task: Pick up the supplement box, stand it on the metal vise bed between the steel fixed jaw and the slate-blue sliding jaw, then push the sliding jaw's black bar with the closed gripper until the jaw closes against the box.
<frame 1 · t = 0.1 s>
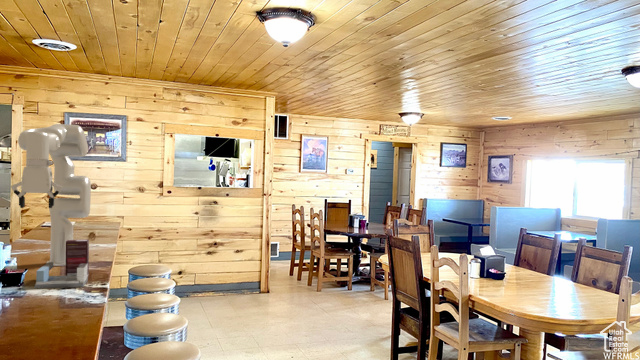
hand: (36, 207, 185), 31 cm above the bar counter, fingers open, 9 cm apart
sliding jaw: (45, 272, 193), point 4 cm above the bar counter, slide at 0.0 cm
supplement box: (76, 277, 205), on the bar counter
vise bed: (62, 284, 191), on the bar counter
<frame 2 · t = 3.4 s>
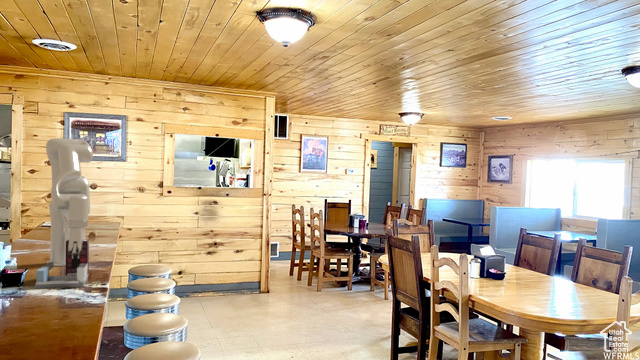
hand: (77, 266, 204), 5 cm above the bar counter, fingers closed on supplement box, 4 cm apart
supplement box: (76, 277, 205), on the bar counter, touching gripper
everything else where it was.
when the fingers open (7 cm above the bar counter, at t = 9.2 s): supplement box stays where it is, resting on vise bed.
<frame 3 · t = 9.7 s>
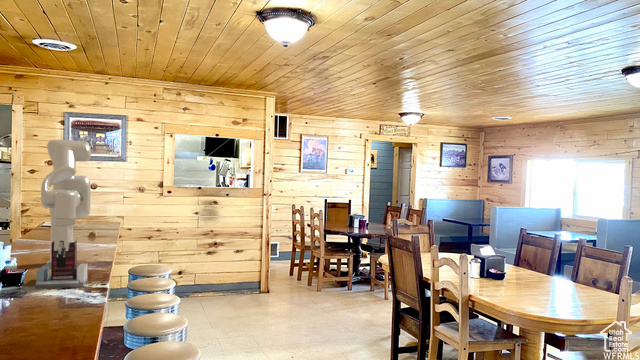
hand: (63, 264, 191), 8 cm above the bar counter, fingers open, 9 cm apart
supplement box: (63, 281, 192), point 1 cm above the bar counter, touching vise bed
everything else where it was.
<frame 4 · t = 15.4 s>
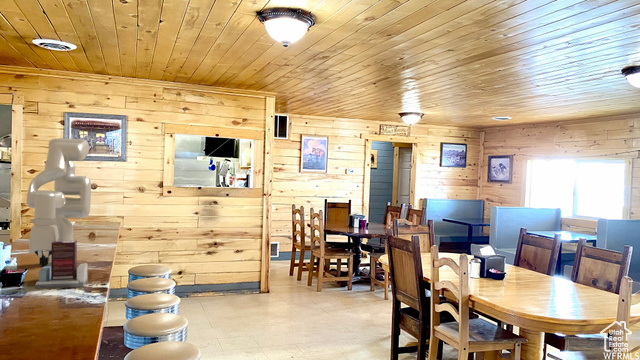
hand: (44, 266, 197), 6 cm above the bar counter, fingers closed
sliding jaw: (47, 272, 193), point 4 cm above the bar counter, slide at 0.8 cm, touching gripper
everything else where it was.
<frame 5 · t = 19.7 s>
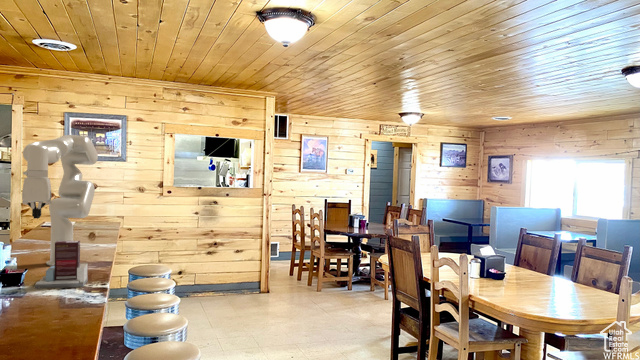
hand: (36, 218, 200), 25 cm above the bar counter, fingers closed
sliding jaw: (54, 272, 194), point 4 cm above the bar counter, slide at 3.3 cm
supplement box: (67, 281, 192), point 1 cm above the bar counter, touching vise bed
at the end: supplement box 1.2 cm from the target spot, point 1.3 cm above the bar counter; supplement box tilted 0°; sliding jaw slide at 3.3 cm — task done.
